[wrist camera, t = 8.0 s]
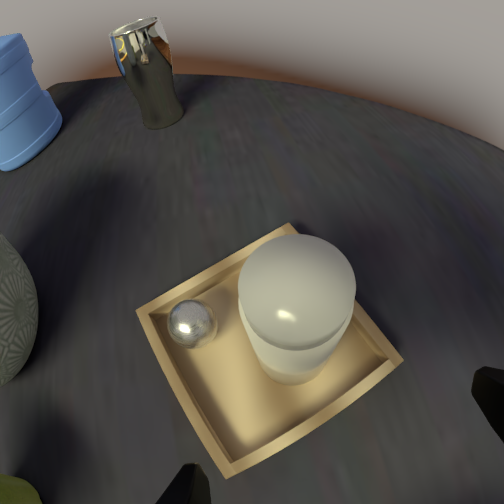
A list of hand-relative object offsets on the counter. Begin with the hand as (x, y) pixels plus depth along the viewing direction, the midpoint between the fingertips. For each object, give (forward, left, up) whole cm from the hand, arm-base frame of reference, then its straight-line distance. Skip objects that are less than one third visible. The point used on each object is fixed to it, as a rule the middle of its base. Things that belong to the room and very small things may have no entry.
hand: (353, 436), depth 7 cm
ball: (-3, +11, -13) cm, 17 cm away
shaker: (+2, +6, -13) cm, 14 cm away
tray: (0, +7, -13) cm, 15 cm away
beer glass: (+5, +41, -13) cm, 44 cm away
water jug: (-18, +59, -13) cm, 63 cm away
